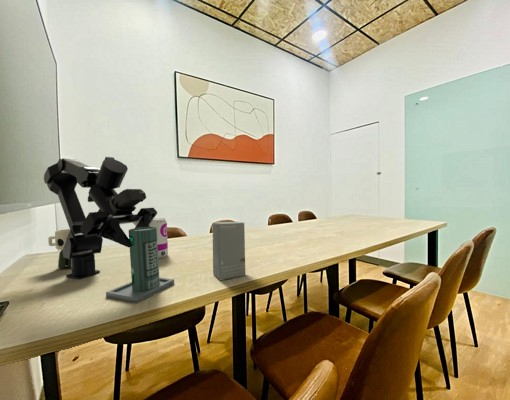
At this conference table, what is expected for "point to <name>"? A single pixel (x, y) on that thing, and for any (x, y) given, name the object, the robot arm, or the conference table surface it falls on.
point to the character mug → (60, 246)
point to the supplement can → (161, 236)
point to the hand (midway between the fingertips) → (141, 243)
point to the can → (144, 258)
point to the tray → (136, 297)
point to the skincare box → (228, 249)
